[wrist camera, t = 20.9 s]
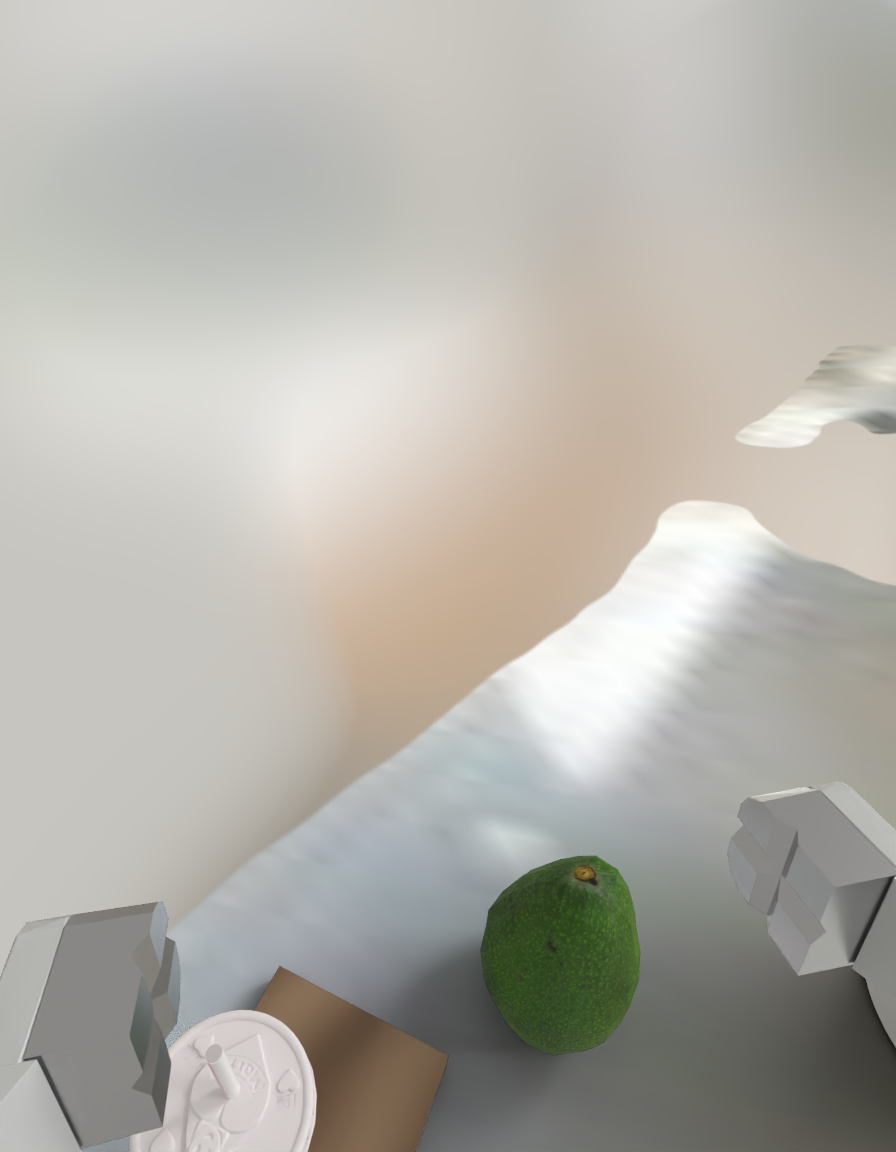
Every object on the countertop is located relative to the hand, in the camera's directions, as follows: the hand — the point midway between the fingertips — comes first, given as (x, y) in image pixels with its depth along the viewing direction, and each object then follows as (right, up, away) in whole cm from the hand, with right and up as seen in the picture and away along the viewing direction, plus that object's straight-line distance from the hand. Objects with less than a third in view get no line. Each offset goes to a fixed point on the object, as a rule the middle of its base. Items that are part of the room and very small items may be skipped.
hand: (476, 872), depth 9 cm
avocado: (+5, -20, +28) cm, 35 cm away
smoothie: (-9, -22, +21) cm, 32 cm away
